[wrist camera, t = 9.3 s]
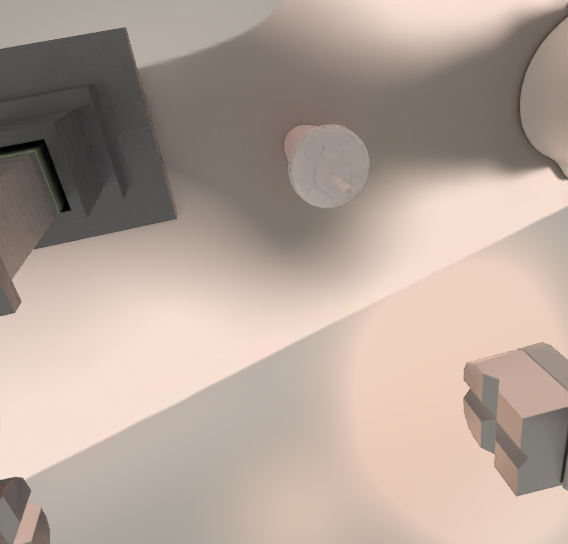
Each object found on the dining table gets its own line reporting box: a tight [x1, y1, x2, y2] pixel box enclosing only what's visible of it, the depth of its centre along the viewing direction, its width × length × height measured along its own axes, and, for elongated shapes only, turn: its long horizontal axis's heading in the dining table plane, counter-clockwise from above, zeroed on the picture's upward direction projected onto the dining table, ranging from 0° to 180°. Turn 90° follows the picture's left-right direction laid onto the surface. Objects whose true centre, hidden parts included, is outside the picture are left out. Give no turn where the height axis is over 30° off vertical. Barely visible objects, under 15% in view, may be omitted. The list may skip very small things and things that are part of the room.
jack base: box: [0, 28, 177, 249], centre depth 37 cm, size 16×16×12 cm
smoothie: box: [284, 124, 370, 208], centre depth 40 cm, size 6×6×14 cm
